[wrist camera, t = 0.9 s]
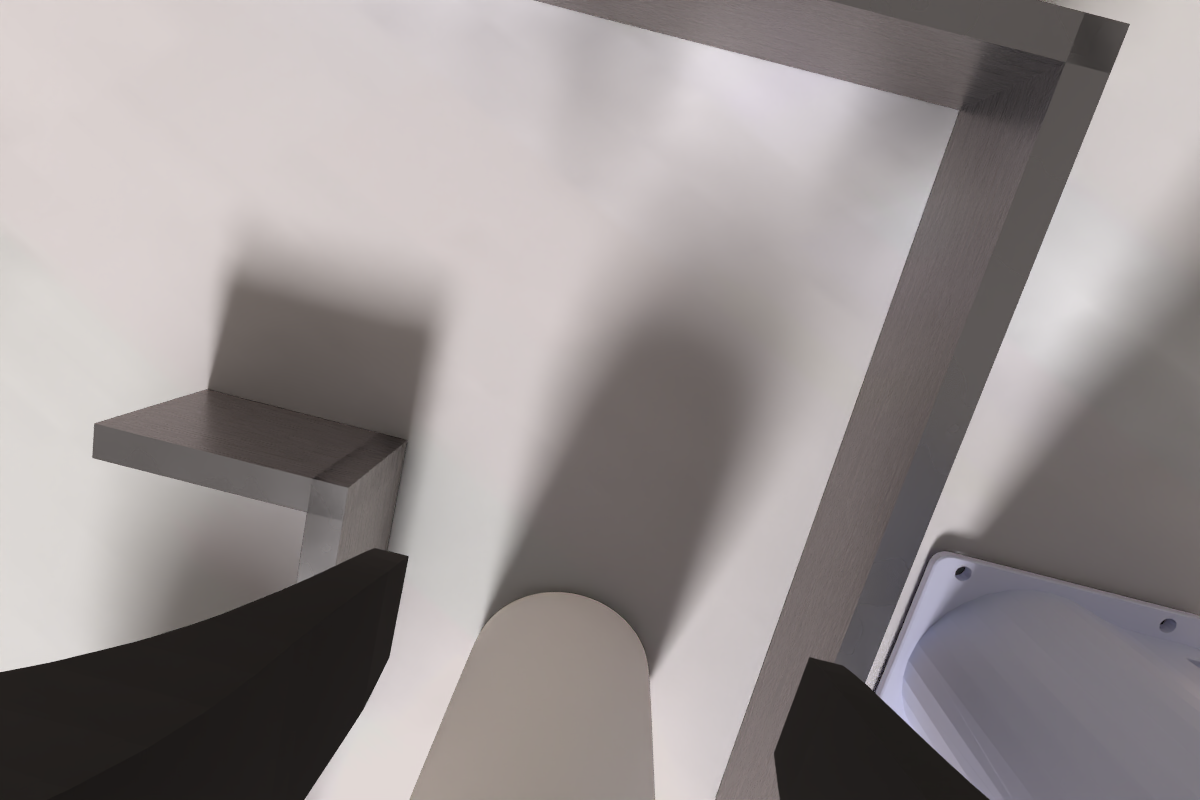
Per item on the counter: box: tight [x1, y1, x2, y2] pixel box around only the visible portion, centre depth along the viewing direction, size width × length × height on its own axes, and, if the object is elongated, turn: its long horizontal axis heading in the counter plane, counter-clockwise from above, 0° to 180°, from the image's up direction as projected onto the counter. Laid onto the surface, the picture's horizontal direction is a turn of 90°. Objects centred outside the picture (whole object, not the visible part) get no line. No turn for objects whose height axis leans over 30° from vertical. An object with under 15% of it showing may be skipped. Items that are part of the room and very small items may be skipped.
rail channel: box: [92, 0, 1130, 800], centre depth 18 cm, size 22×26×4 cm
